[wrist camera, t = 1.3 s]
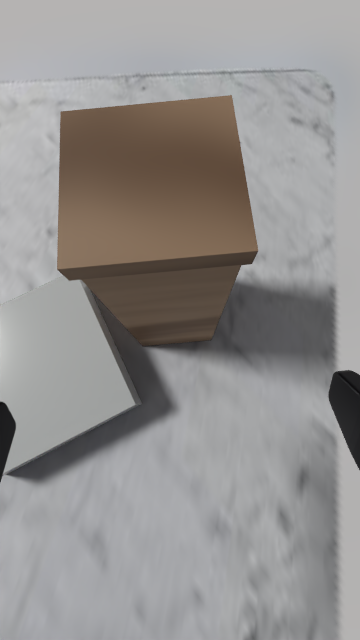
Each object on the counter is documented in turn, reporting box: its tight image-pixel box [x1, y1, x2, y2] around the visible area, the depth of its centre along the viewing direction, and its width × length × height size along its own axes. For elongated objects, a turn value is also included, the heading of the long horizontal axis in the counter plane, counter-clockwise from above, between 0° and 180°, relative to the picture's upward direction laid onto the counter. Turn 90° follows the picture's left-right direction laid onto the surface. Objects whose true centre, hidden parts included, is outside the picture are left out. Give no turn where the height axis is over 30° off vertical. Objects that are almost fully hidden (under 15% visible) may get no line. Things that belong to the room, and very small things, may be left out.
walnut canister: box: [57, 95, 258, 346], centre depth 15 cm, size 5×5×14 cm
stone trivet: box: [0, 275, 142, 476], centre depth 20 cm, size 10×10×3 cm
